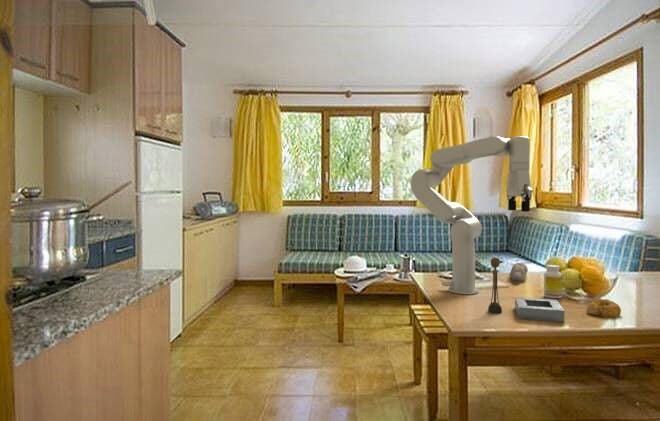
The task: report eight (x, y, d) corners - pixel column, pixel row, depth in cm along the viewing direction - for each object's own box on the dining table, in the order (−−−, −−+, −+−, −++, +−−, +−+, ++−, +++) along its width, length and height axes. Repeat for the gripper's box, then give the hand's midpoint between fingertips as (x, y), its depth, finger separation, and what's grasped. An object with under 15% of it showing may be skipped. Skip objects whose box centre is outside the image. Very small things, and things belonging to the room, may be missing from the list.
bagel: (579, 310, 162) (579, 297, 161) (607, 310, 162) (608, 297, 162) (597, 319, 152) (598, 305, 151) (627, 318, 153) (628, 304, 152)
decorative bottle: (511, 274, 231) (512, 261, 231) (527, 276, 227) (528, 263, 227) (507, 284, 208) (507, 270, 207) (524, 285, 204) (525, 271, 204)
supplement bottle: (563, 299, 178) (564, 267, 177) (546, 298, 179) (546, 267, 179) (558, 295, 185) (559, 264, 184) (541, 294, 186) (542, 264, 185)
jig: (518, 319, 151) (518, 307, 151) (514, 307, 166) (515, 297, 165) (564, 322, 147) (564, 310, 147) (556, 310, 161) (556, 299, 161)
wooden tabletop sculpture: (495, 309, 164) (496, 255, 163) (506, 311, 160) (507, 256, 159) (485, 311, 161) (485, 256, 160) (496, 314, 157) (496, 258, 156)
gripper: (499, 169, 185) (498, 210, 186) (522, 166, 168) (521, 211, 169) (516, 169, 186) (515, 209, 187) (540, 166, 169) (540, 211, 170)
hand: (518, 210), depth 178 cm, fingers open, 9 cm apart
